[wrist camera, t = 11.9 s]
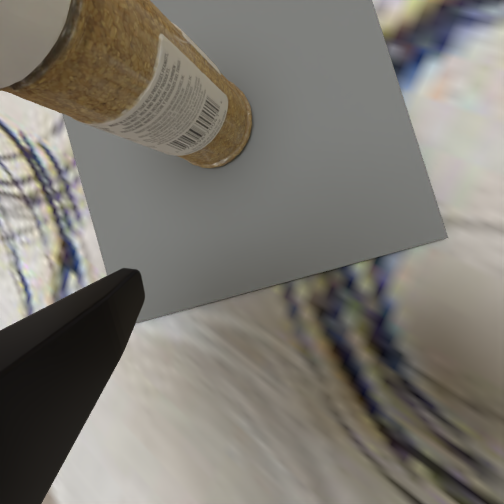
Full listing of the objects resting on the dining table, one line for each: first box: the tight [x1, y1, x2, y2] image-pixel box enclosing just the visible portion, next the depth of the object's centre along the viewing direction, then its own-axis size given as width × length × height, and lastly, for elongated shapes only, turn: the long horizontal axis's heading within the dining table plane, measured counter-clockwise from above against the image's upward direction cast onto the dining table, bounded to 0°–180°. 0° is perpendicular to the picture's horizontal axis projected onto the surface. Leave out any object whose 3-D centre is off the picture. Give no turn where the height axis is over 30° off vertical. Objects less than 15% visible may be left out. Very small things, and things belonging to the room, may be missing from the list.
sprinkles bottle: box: [0, 0, 252, 168], centre depth 13 cm, size 5×5×13 cm
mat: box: [62, 0, 448, 323], centre depth 19 cm, size 18×18×1 cm
